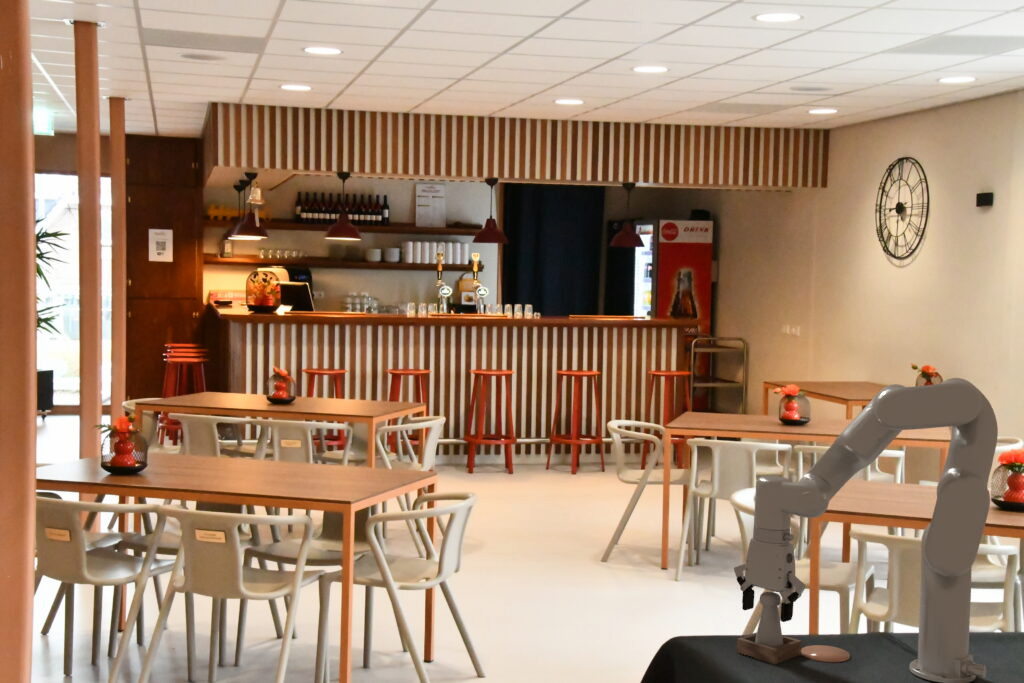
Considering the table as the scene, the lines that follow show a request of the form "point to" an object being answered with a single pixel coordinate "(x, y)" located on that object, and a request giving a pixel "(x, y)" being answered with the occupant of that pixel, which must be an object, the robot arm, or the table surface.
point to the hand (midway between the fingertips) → (766, 614)
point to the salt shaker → (769, 621)
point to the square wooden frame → (769, 649)
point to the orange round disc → (825, 653)
